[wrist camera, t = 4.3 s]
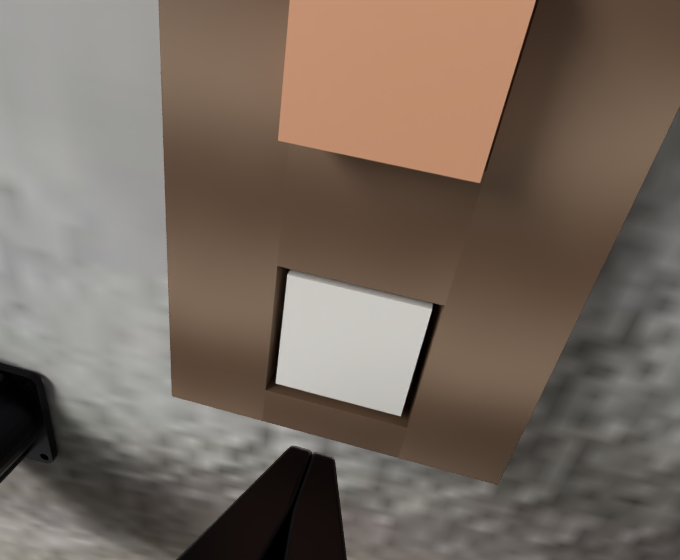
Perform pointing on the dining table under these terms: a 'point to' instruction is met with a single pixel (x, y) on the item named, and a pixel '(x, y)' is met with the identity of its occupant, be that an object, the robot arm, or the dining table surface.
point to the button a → (350, 341)
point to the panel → (404, 222)
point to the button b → (401, 79)
